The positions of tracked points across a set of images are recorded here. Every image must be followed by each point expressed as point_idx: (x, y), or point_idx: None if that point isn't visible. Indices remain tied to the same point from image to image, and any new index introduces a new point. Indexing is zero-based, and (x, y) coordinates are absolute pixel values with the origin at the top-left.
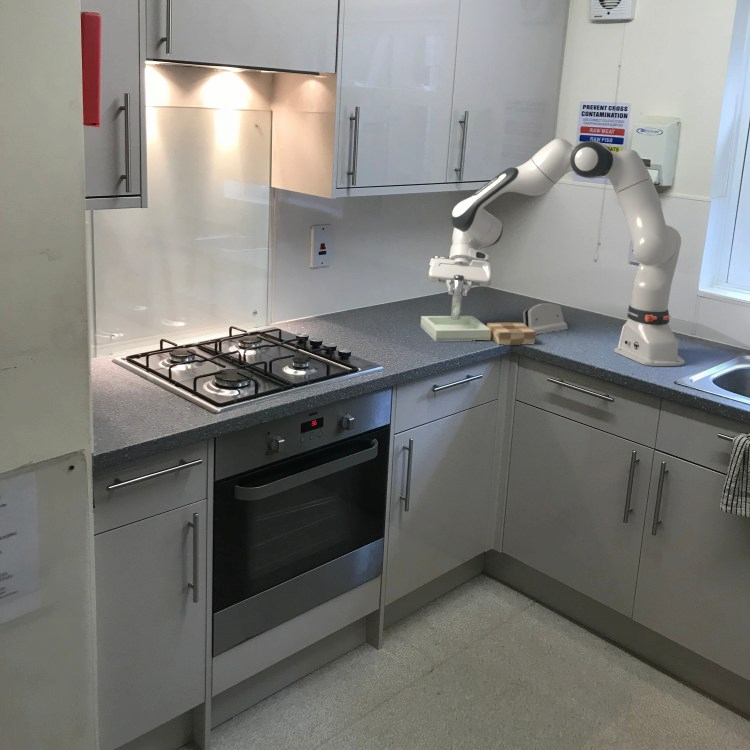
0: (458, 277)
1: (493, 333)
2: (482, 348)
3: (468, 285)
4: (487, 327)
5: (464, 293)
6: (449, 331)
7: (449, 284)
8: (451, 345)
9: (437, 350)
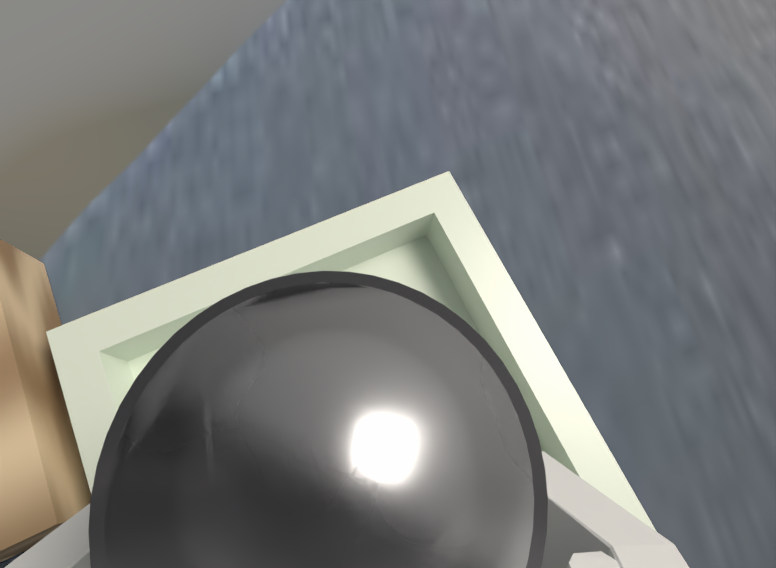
0: (327, 282)
1: (40, 354)
2: (155, 163)
3: (74, 541)
4: (70, 404)
5: None
6: (365, 207)
7: (557, 500)
8: (337, 163)
9: (396, 59)
